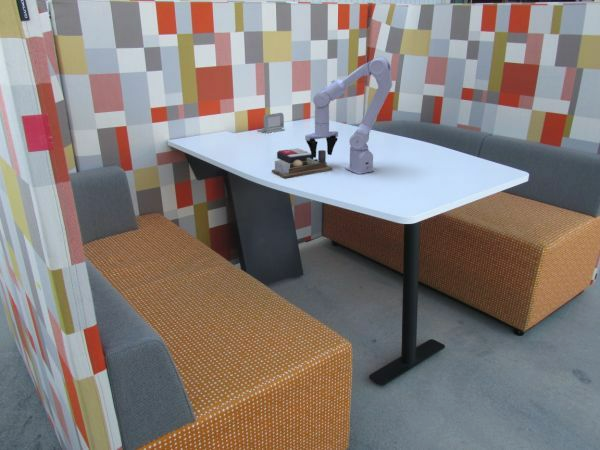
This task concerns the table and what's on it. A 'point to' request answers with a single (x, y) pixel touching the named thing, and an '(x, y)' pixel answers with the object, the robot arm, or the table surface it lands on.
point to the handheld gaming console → (273, 123)
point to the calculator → (293, 155)
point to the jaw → (320, 158)
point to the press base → (304, 169)
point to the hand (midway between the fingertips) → (321, 155)
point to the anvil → (282, 167)
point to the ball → (297, 163)
